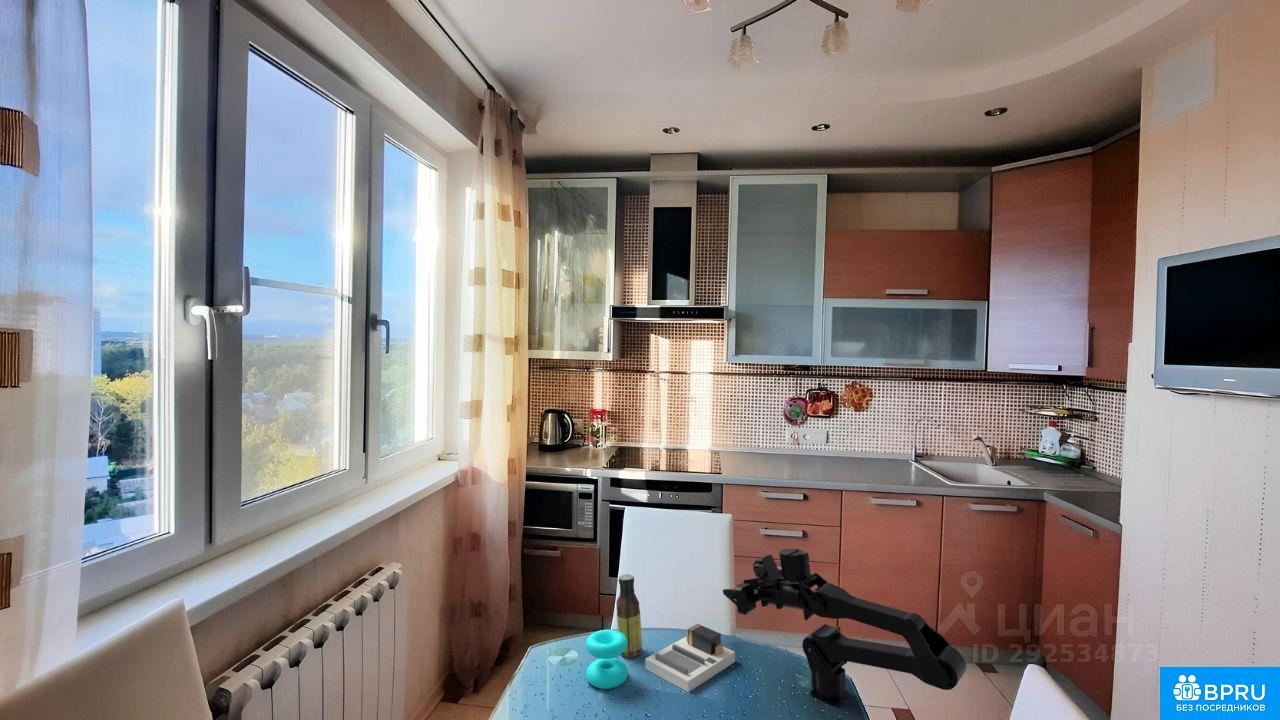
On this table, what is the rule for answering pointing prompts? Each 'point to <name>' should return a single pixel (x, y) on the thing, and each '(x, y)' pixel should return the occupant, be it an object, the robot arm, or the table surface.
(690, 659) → the cradle
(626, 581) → the sauce bottle
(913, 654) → the robot arm
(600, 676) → the donuts
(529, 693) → the table surface
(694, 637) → the battery
